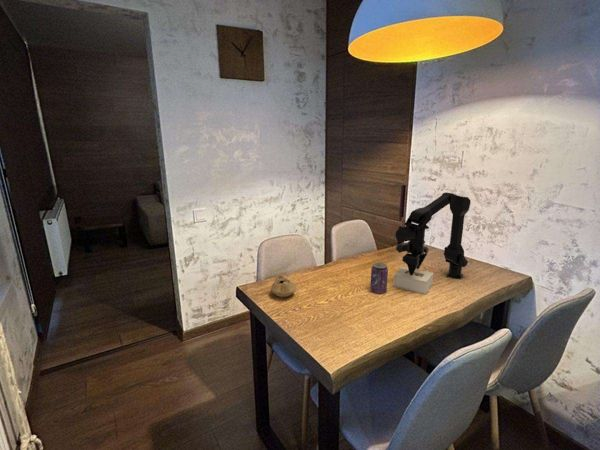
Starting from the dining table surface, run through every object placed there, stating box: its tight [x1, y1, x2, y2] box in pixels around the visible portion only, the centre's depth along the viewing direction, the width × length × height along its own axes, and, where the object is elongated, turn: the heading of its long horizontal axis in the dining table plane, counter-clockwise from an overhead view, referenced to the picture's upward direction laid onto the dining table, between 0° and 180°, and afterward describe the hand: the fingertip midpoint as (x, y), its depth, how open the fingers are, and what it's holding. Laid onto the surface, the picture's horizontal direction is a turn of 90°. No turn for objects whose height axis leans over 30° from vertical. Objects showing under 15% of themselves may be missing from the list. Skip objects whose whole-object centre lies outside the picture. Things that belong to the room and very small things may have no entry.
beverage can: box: [369, 262, 389, 294], centre depth 141 cm, size 7×7×12 cm
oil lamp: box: [270, 275, 297, 298], centre depth 139 cm, size 11×15×8 cm
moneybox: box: [393, 266, 434, 295], centre depth 147 cm, size 12×14×6 cm
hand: (414, 271), depth 146 cm, fingers open, 9 cm apart
